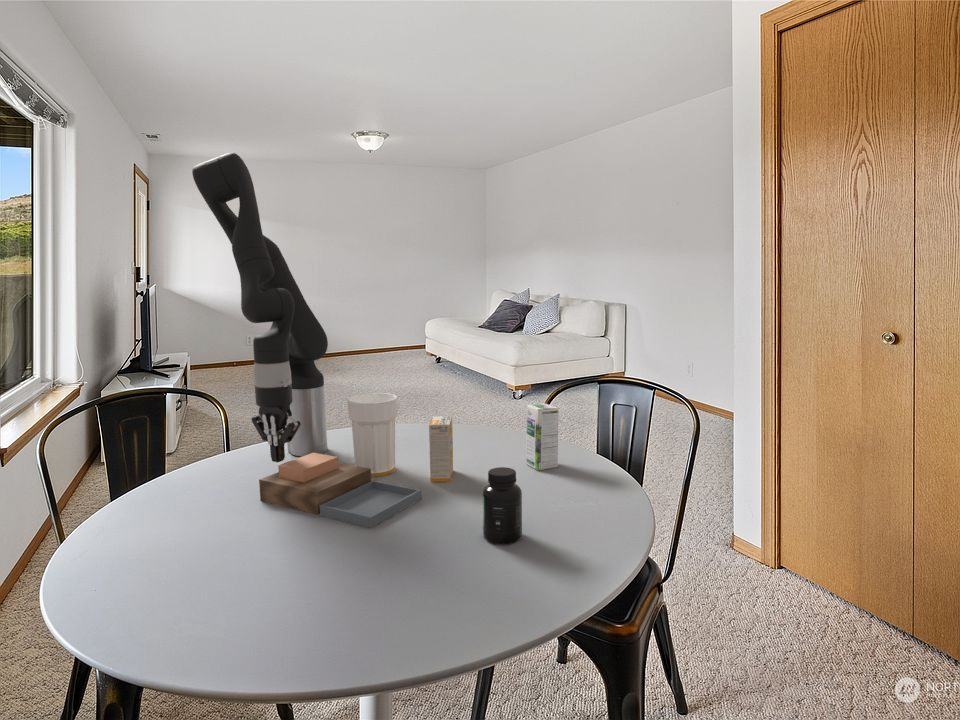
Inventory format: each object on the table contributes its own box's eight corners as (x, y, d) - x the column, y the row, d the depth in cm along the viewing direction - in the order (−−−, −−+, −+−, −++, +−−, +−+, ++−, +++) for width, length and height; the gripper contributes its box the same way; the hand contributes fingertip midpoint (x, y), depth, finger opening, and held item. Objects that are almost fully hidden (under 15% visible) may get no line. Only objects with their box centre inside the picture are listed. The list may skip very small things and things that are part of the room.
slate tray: (320, 515, 123) (319, 505, 123) (373, 489, 137) (372, 480, 136) (371, 527, 117) (370, 517, 116) (421, 499, 130) (421, 489, 130)
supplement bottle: (476, 540, 111) (475, 474, 109) (494, 526, 117) (493, 463, 115) (512, 548, 108) (511, 480, 106) (528, 533, 114) (528, 468, 112)
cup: (390, 480, 142) (387, 403, 140) (343, 477, 145) (339, 402, 142) (406, 464, 153) (403, 393, 151) (361, 461, 155) (358, 392, 153)
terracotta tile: (279, 477, 132) (278, 465, 131) (313, 463, 140) (313, 452, 140) (303, 482, 128) (303, 470, 128) (337, 468, 137) (337, 456, 136)
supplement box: (451, 482, 140) (450, 424, 138) (429, 482, 140) (428, 424, 138) (454, 470, 148) (452, 415, 146) (433, 470, 149) (431, 415, 147)
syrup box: (525, 464, 152) (525, 404, 150) (546, 460, 154) (546, 402, 152) (537, 471, 147) (537, 409, 145) (559, 467, 149) (559, 407, 147)
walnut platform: (260, 500, 131) (259, 479, 130) (316, 477, 145) (315, 458, 144) (318, 514, 123) (317, 492, 122) (371, 488, 137) (370, 468, 136)
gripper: (237, 383, 136) (243, 461, 138) (281, 388, 129) (286, 470, 132) (265, 377, 142) (270, 452, 145) (308, 382, 136) (313, 460, 138)
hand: (278, 460), depth 138 cm, fingers closed
